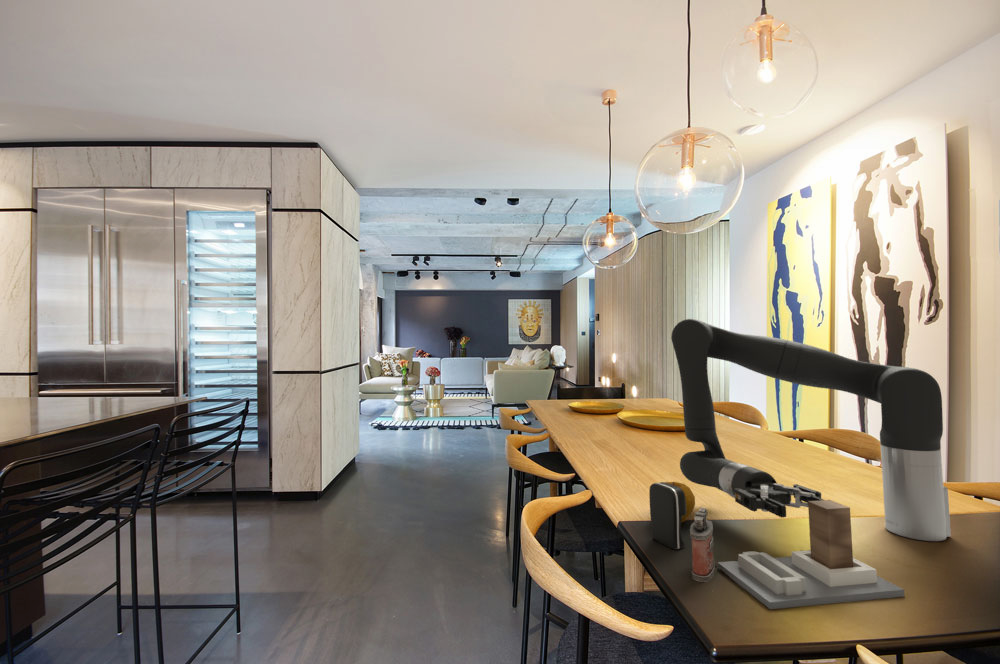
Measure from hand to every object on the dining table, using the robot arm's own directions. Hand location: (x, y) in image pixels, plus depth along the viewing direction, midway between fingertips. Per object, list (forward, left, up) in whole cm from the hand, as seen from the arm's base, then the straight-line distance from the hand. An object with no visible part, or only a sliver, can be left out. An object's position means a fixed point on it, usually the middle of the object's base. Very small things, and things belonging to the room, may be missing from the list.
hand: (806, 510), depth 81 cm
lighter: (+19, -1, -10) cm, 21 cm away
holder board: (+5, +5, -9) cm, 12 cm away
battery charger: (+19, -13, -10) cm, 25 cm away
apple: (+13, -23, -10) cm, 28 cm away
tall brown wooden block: (0, +5, -8) cm, 10 cm away
